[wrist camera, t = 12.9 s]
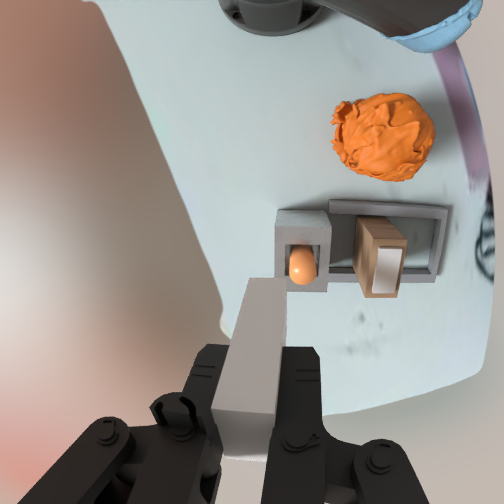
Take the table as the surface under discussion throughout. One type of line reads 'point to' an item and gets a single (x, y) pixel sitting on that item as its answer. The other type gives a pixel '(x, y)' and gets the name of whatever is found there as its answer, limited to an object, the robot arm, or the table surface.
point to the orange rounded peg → (302, 264)
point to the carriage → (378, 256)
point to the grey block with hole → (305, 233)
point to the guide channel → (401, 211)
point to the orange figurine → (383, 136)
